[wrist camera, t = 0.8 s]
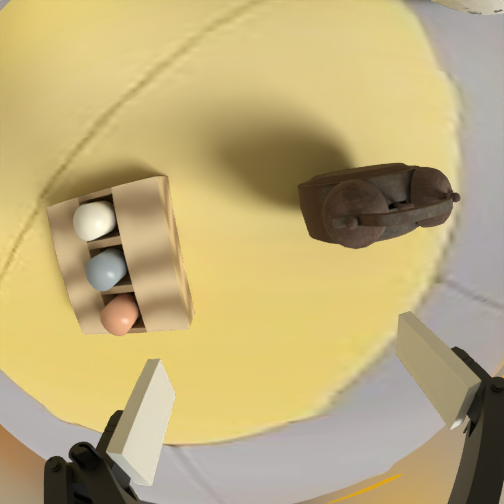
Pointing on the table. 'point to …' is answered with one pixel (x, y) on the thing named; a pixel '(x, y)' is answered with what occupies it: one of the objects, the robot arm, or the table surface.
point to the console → (128, 258)
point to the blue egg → (106, 269)
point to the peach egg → (120, 314)
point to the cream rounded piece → (94, 220)
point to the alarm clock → (374, 203)
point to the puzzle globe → (474, 6)
